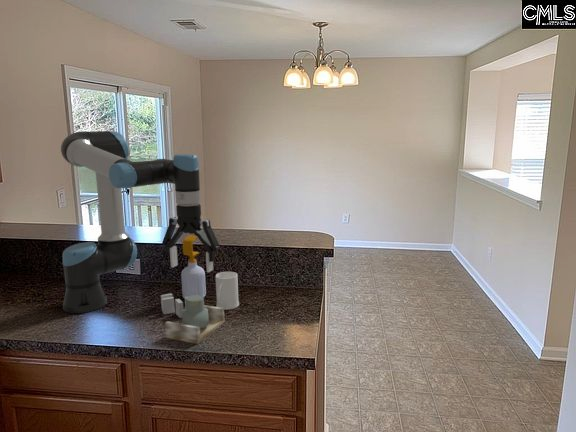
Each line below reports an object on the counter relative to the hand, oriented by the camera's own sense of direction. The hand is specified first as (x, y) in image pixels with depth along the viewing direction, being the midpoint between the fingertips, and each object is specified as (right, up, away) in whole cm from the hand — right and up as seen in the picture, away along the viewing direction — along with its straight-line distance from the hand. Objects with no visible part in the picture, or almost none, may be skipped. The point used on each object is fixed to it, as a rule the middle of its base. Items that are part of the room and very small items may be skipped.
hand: (191, 268), depth 140 cm
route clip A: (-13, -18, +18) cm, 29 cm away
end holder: (+1, -21, +4) cm, 21 cm away
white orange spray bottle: (-6, -15, +32) cm, 36 cm away
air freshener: (+1, -20, +4) cm, 20 cm away
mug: (+8, -17, +22) cm, 29 cm away
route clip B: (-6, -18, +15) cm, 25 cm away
